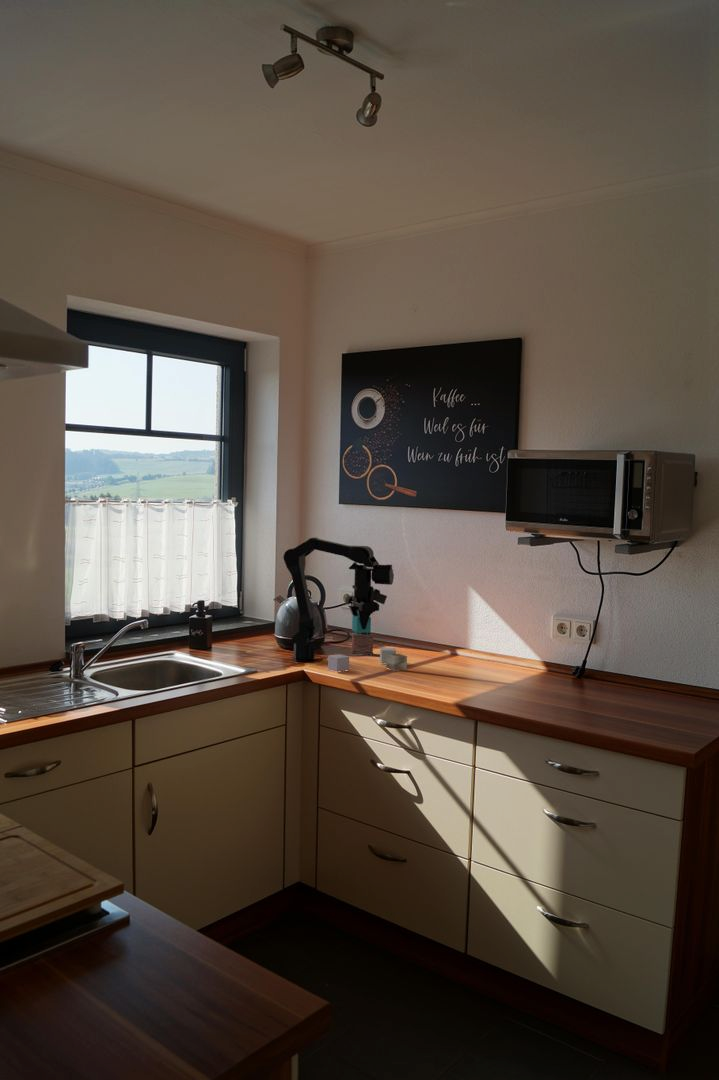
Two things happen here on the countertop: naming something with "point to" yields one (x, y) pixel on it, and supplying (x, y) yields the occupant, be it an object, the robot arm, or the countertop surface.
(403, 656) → the grey-green cube
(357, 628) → the teal cube
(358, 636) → the brown upright block
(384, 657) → the grey cube
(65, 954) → the countertop surface
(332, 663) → the lilac cube
